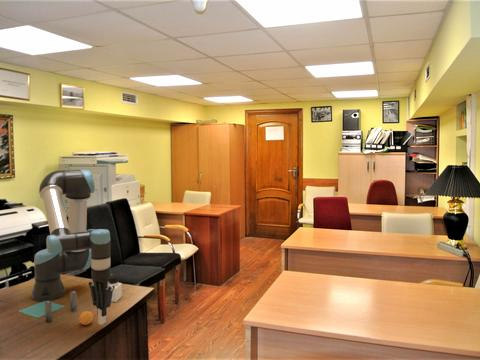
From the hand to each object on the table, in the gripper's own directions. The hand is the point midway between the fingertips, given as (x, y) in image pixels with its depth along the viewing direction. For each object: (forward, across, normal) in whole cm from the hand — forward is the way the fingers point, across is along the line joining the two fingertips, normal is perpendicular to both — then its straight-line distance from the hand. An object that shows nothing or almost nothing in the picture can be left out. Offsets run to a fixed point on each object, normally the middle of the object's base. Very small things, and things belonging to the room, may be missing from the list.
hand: (102, 322), depth 161 cm
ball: (0, +10, 0) cm, 10 cm away
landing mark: (+3, +40, 0) cm, 40 cm away
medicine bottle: (+3, +21, -25) cm, 33 cm away
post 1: (+3, +26, +6) cm, 27 cm away
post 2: (+3, +26, -6) cm, 27 cm away
